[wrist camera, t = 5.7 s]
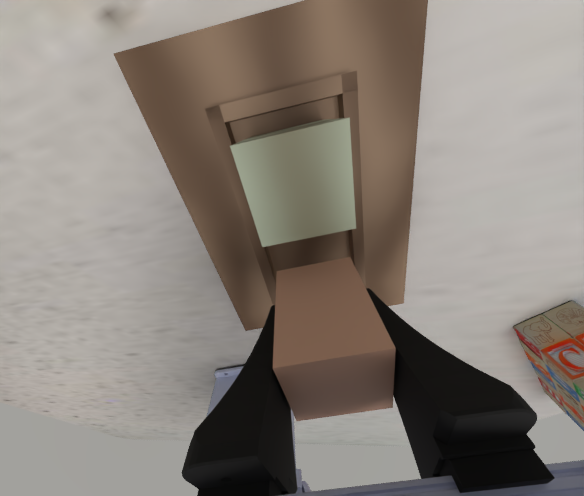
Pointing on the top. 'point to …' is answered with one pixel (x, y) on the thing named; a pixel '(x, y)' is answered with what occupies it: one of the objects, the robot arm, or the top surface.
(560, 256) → the top surface
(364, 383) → the terracotta block
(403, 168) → the walnut base
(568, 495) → the robot arm
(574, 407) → the stack of blocks
